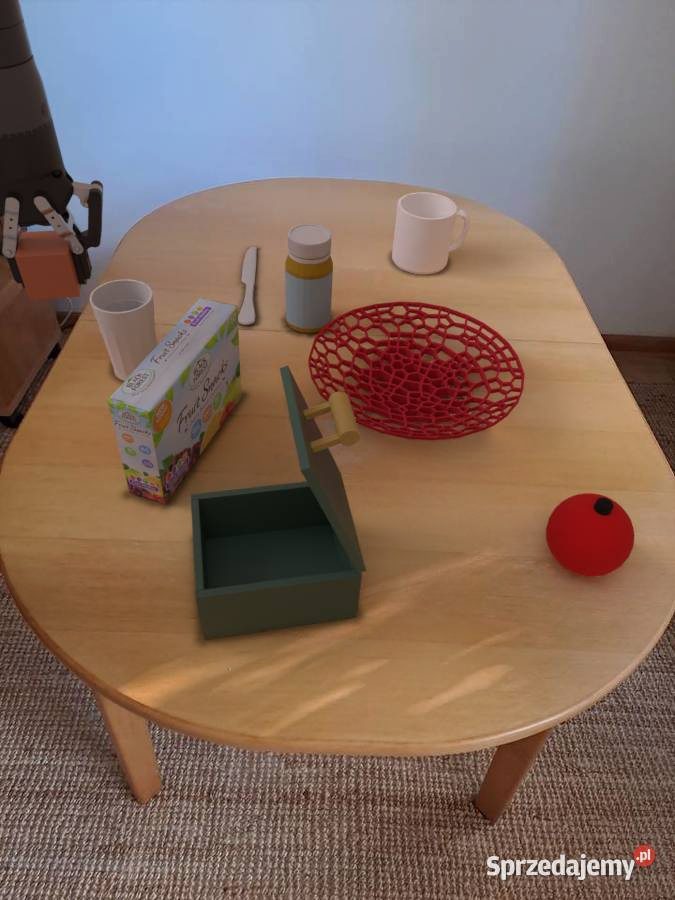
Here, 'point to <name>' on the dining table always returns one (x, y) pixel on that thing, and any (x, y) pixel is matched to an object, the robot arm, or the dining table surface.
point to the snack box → (178, 399)
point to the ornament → (590, 534)
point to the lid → (325, 458)
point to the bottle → (308, 278)
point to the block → (46, 266)
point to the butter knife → (248, 287)
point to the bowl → (417, 373)
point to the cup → (125, 322)
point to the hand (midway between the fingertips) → (55, 281)
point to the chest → (268, 561)
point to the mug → (425, 232)
